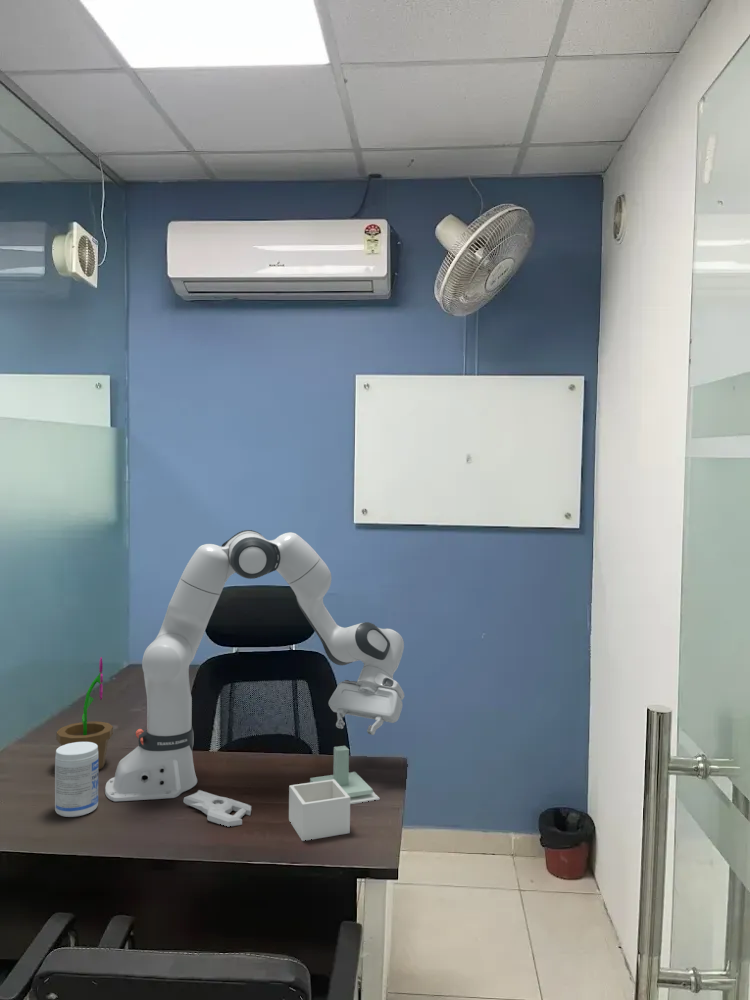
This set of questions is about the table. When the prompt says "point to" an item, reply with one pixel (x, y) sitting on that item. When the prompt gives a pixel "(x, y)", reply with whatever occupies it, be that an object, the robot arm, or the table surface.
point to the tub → (319, 809)
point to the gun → (218, 808)
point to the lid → (345, 775)
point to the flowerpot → (89, 726)
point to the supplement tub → (76, 779)
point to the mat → (363, 798)
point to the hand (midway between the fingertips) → (354, 730)
